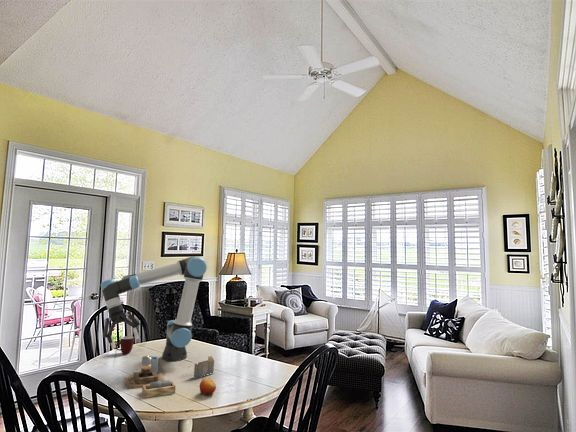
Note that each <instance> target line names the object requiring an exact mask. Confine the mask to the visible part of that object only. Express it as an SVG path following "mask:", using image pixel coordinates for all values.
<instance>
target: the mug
mask: <svg viewBox="0 0 576 432" xmlns="http://www.w3.org/2000/svg"><path fill="white" fill-rule="evenodd" d="M134 343H135V336H131V335H127V336H126V335H125V336H121V337H120V340H119V342H117V343H115V346H116V348H115V350H116V351H121V353H122V355H129V354H130V353H131V351H132V349H133V345H134ZM119 345H120V348H118V346H119Z"/></svg>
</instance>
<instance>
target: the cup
mask: <svg viewBox="0 0 576 432" xmlns="http://www.w3.org/2000/svg"><path fill="white" fill-rule="evenodd" d="M151 357H152V360H151V371H152V370H155V371H156V373H158V370H159V358H158V356H156V355H155V356H151Z"/></svg>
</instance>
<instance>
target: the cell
mask: <svg viewBox="0 0 576 432" xmlns="http://www.w3.org/2000/svg"><path fill="white" fill-rule="evenodd" d="M152 357H153V356H152V355H151V356H150V355H144V356H142V359H141V364H140V365H141V366H140V368H141V369H140V372H141V377H148V376H150V372H151V360H152Z"/></svg>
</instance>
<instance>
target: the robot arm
mask: <svg viewBox="0 0 576 432" xmlns="http://www.w3.org/2000/svg"><path fill="white" fill-rule="evenodd" d="M207 269H208V267H207V263H206V261H205V259H203V258H202V257H200V256H189V257H187V258H184V259H181V260H177V262H176V263H172V264H168V265H163V266H160V267H156V268H153V269H148V270H144V271H141V272H136V273H133V274H127V275H124V276H123V277H122V278H121V279H120V280H117V281H116V280H115V279H114V278H110V279H106V280H104V281H102V282H101V283H100V288H101V293H102V295H103V298H104V303H105V305H106V309H107V311H108V315H109V317H107V318H105V319H104V327H103V332H102V333H103V334H102V338H105V339H107V341H108V344H110V346H111V350H114V349H116V343H115V340H114V337H113V335H112V334H113V331H114V328H115V326H116V325H118V324H119V323H120V324H121V323H125V324H127V325H129V326H130V327H132V331H133V335H134V340H135V341H137V340H139V339H140V335H139V333H140V331H139V328H138V327H139V325H141V323H140V322H139V321H138V320H137V319H136V318H135V316H133V315H132V312H131V311H130V310H129V311H127V312H125V310H124V307H123V305H122V300H121V297H120V295H122V294H124V293H127V292H129V291H133V290H136V289H138V288H140V287H141V285H145V284H149V283H153V282H156V281H160V280H164V279H168V278H171V277H175V276H183V278H184V280H185V281H184V284H183V289H182V293H181V297H180V301H179V302H180V303H179V307H178V311H177V315H176V319H172V320H168V322H167V325H166V339H165V346H164V349H163V351H162V355H161V358H162V360H165V361H171V362H174V361H175V362H177V361H181V360H185V359H186V358H187V357H188V352H187V348H186V346H187V345H189V344H190V342H191V341H192V329H193V323H192V317H193V312H194V308H195V303H196V299H197V294H198V290H199V286H200V282H202V281H203V278H204V275H205V273H206V271H207ZM110 322H111V324H110ZM109 326H110V327H109Z"/></svg>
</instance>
